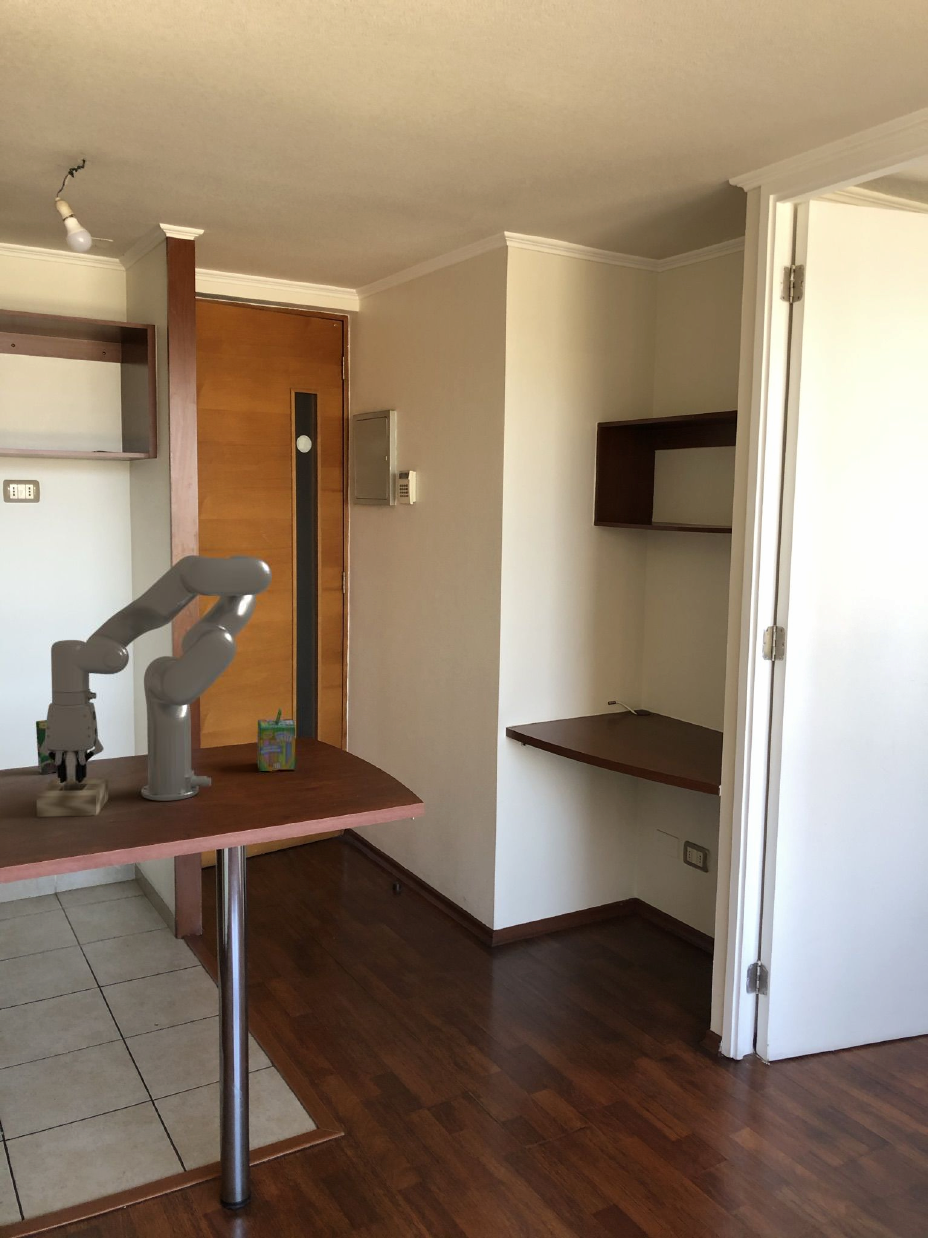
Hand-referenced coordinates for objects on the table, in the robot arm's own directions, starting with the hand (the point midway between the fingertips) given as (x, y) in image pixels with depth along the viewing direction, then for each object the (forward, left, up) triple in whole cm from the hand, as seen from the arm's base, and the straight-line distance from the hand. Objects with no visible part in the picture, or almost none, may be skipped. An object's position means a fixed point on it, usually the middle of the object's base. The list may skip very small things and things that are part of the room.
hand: (72, 780), depth 216 cm
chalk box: (-42, -30, -6) cm, 52 cm away
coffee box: (+11, -29, -6) cm, 32 cm away
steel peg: (0, 0, -4) cm, 4 cm away
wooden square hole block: (0, 0, -6) cm, 6 cm away
